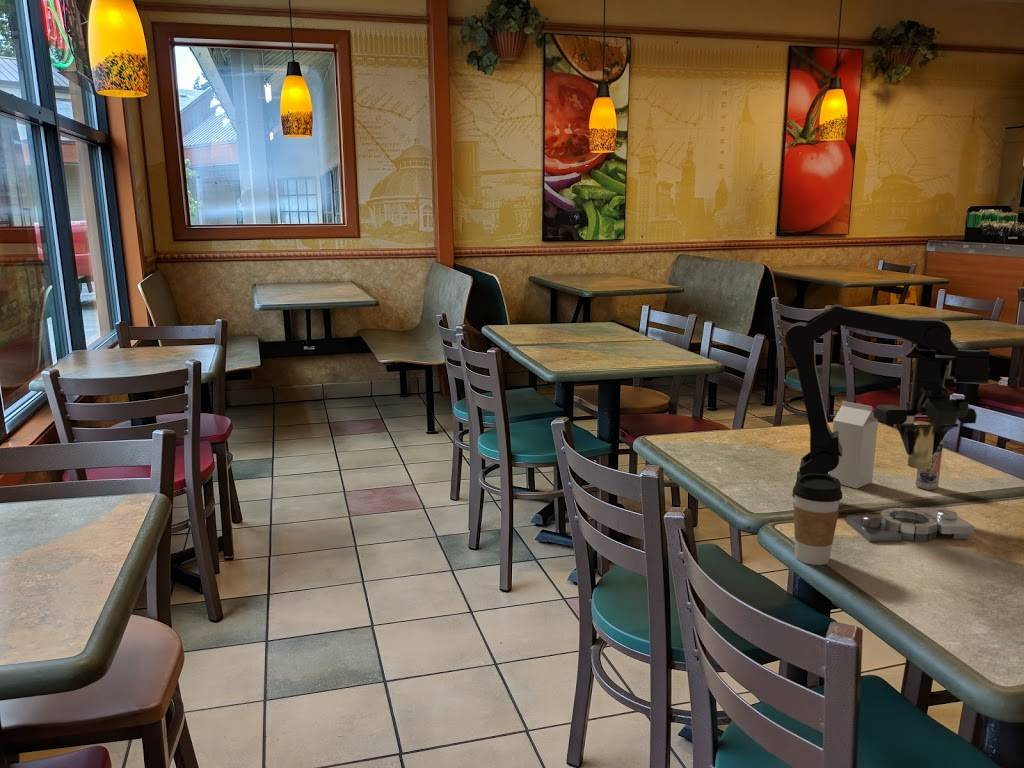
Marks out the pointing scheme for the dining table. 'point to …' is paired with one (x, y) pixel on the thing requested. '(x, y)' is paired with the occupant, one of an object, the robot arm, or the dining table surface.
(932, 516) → the upper link
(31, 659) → the dining table surface
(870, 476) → the milk carton
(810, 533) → the coffee cup
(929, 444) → the pin
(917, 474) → the beer can
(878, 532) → the lower link
